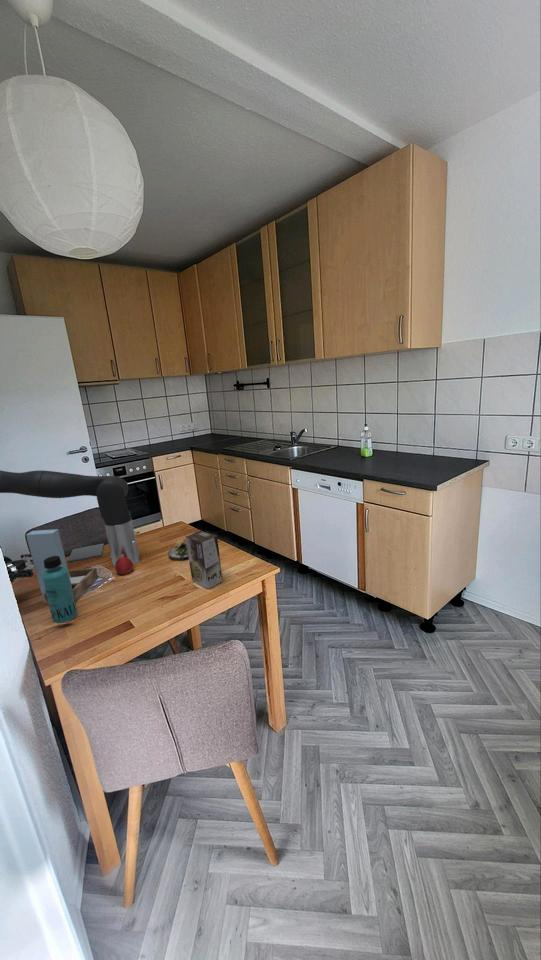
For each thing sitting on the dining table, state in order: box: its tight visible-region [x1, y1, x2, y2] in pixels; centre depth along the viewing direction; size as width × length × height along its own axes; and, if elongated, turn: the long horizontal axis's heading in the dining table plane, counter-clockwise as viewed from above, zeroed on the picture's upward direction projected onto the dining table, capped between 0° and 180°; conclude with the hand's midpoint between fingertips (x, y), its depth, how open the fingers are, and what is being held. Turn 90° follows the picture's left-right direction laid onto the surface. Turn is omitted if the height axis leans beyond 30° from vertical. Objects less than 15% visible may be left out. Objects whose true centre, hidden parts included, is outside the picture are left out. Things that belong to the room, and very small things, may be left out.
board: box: [26, 528, 73, 604], centre depth 116 cm, size 8×3×24 cm, turn 88°
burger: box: [167, 539, 188, 562], centre depth 146 cm, size 12×12×8 cm
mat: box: [67, 543, 105, 563], centre depth 155 cm, size 12×12×1 cm
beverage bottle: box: [42, 556, 78, 624], centre depth 107 cm, size 6×7×20 cm
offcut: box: [70, 575, 86, 583], centre depth 126 cm, size 5×6×2 cm
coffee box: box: [184, 530, 224, 590], centre depth 123 cm, size 9×6×16 cm
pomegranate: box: [114, 554, 134, 576], centre depth 133 cm, size 6×6×8 cm
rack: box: [44, 567, 99, 606], centre depth 123 cm, size 16×9×5 cm, turn 178°
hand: (41, 566), depth 116 cm, fingers open, 8 cm apart
